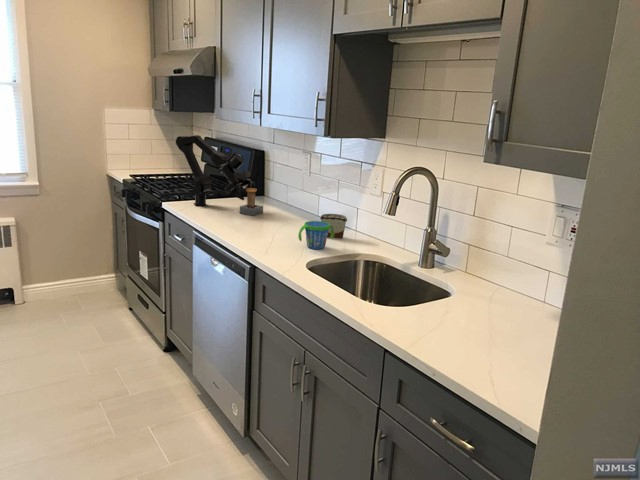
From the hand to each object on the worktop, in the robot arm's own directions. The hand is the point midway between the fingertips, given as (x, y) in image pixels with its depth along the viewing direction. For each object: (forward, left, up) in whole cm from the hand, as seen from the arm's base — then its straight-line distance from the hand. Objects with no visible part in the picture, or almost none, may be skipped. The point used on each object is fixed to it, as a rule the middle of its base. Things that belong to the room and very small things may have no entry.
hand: (248, 198), depth 263 cm
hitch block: (+1, +1, -8) cm, 8 cm away
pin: (+1, +1, -8) cm, 8 cm away
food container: (+52, +25, -8) cm, 58 cm away
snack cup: (+67, +10, -8) cm, 68 cm away
